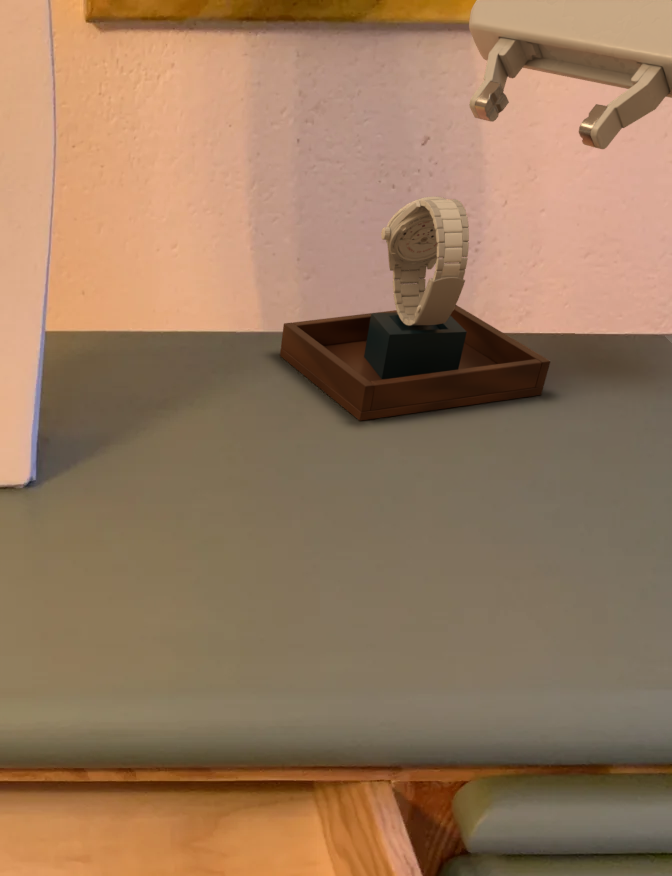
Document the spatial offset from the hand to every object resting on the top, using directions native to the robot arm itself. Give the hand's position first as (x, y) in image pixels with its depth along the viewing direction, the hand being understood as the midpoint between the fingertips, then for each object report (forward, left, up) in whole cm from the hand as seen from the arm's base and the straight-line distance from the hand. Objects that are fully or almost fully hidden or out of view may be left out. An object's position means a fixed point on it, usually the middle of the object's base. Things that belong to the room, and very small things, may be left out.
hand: (532, 127), depth 76 cm
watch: (+7, +1, -15) cm, 16 cm away
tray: (+7, +1, -15) cm, 17 cm away
